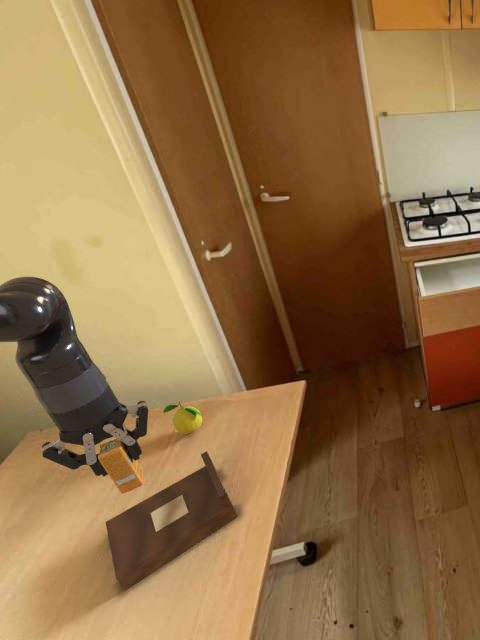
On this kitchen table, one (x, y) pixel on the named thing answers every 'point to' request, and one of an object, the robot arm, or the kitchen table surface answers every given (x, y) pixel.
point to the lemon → (185, 418)
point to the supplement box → (121, 466)
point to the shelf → (168, 524)
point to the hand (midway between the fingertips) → (121, 464)
